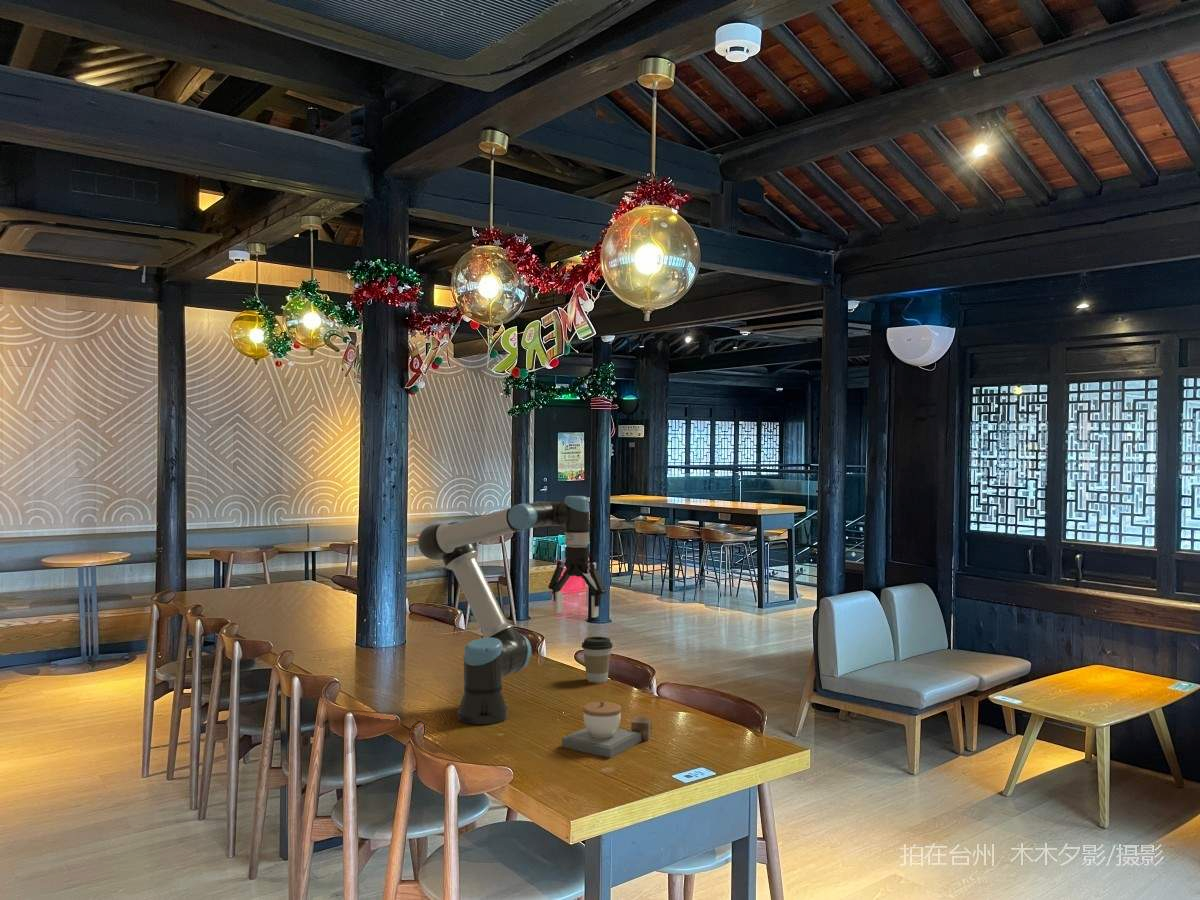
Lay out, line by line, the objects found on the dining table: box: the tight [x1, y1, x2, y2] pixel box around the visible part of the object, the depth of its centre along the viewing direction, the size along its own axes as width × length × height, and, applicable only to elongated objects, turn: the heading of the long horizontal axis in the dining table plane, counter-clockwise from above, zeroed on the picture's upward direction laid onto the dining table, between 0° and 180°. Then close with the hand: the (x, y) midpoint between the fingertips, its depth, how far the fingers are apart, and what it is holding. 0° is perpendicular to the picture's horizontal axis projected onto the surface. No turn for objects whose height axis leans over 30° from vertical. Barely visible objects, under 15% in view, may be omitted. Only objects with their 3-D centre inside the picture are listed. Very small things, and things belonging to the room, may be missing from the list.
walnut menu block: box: [630, 716, 653, 742], centre depth 241 cm, size 5×5×5 cm
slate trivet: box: [561, 726, 642, 759], centre depth 235 cm, size 16×16×3 cm
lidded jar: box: [582, 700, 622, 738], centre depth 235 cm, size 11×11×9 cm
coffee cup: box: [581, 636, 613, 684], centre depth 303 cm, size 11×11×15 cm
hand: (576, 614), depth 260 cm, fingers open, 13 cm apart
